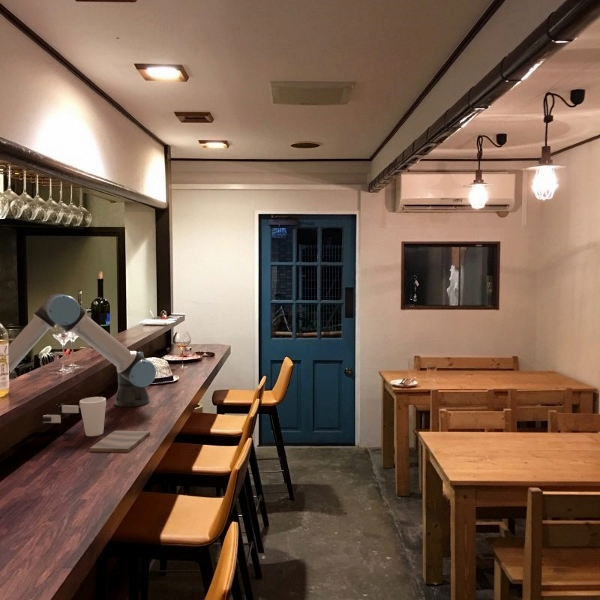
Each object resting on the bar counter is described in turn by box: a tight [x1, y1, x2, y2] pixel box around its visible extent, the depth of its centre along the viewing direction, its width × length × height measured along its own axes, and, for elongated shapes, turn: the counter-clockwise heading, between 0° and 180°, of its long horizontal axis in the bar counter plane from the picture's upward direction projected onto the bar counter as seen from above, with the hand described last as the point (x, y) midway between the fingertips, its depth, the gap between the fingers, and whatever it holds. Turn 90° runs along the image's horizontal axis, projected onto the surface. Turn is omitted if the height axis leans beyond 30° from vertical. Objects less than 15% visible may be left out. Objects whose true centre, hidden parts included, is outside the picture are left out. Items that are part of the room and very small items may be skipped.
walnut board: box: [89, 430, 151, 453], centre depth 219 cm, size 20×14×1 cm
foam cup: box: [79, 396, 107, 437], centre depth 231 cm, size 10×9×13 cm
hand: (69, 414), depth 232 cm, fingers open, 13 cm apart
